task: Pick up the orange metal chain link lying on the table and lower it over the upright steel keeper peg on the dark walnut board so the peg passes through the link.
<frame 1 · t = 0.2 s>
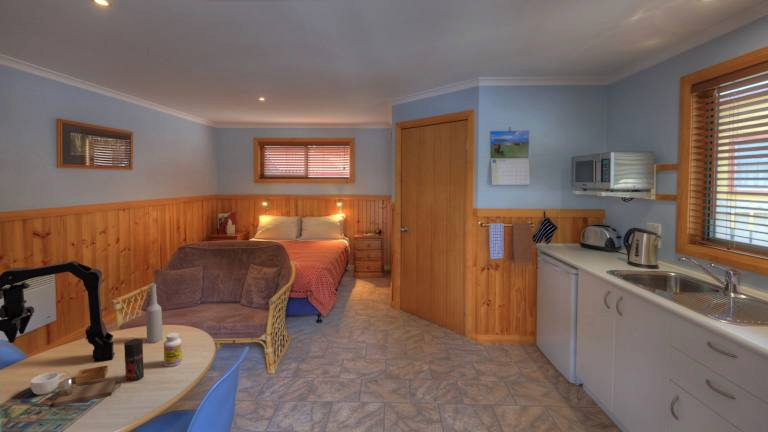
hand: (17, 338, 146), 14 cm above the table, tool pointing down, fingers open, 9 cm apart
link: (92, 377, 145), on the table
bottle: (154, 340, 179), on the table
keeper peg: (68, 394, 131), resting on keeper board
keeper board: (86, 394, 133), on the table
teacup: (49, 390, 136), on the table
supplement bottle: (173, 363, 157), on the table
deodorant: (134, 378, 145), on the table
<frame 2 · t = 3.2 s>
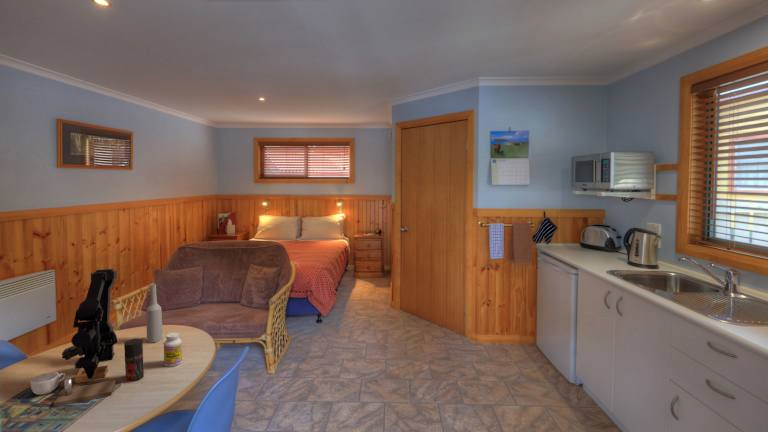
hand: (92, 374, 145), 1 cm above the table, tool pointing down, fingers closed on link, 6 cm apart
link: (92, 377, 145), on the table, touching gripper
everything else where it was.
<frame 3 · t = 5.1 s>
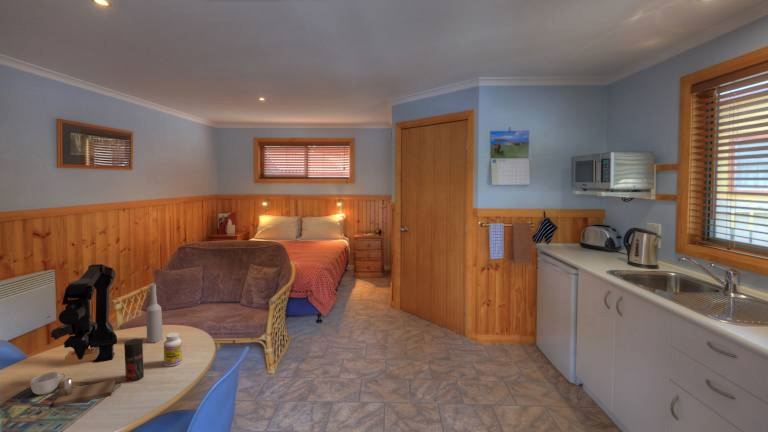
hand: (82, 355, 138), 12 cm above the table, tool pointing down, fingers closed on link, 6 cm apart
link: (82, 358, 138), point 11 cm above the table, touching gripper
everything else where it was.
when the fingers open (4 cm above the table, at t = 7.4 s): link drops 1 cm, resting on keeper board.
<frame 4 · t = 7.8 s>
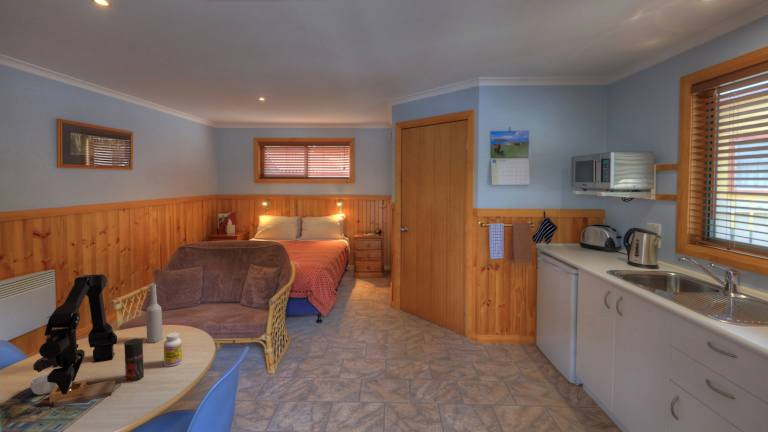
hand: (68, 387, 130), 4 cm above the table, tool pointing down, fingers open, 9 cm apart
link: (69, 394, 131), point 1 cm above the table, touching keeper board
everything else where it was.
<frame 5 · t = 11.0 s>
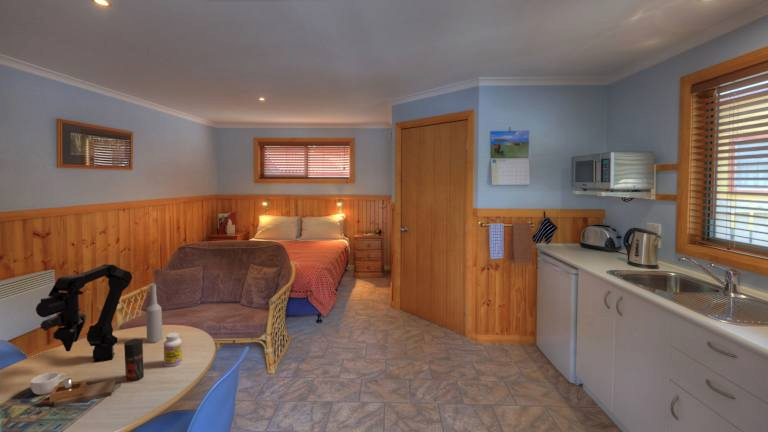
hand: (71, 346, 145), 12 cm above the table, tool pointing down, fingers open, 9 cm apart
nothing on the table moved.
at the end: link 0.1 cm off-centre on the keeper peg, point 0.0 cm above the keeper peg's base; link tilted 0°; the gripper is holding nothing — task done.
